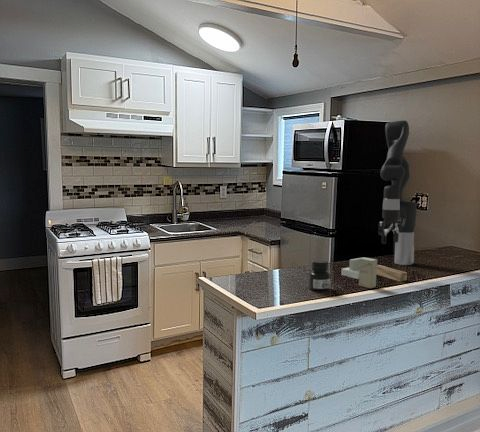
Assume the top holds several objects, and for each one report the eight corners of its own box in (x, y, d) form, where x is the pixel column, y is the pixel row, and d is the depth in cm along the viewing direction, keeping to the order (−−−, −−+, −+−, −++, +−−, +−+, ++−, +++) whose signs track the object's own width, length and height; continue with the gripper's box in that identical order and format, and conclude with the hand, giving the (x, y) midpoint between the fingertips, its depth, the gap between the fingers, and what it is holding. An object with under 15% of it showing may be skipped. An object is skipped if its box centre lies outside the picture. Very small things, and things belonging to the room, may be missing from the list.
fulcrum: (358, 271, 227) (358, 255, 226) (374, 275, 219) (375, 259, 218) (341, 274, 220) (341, 258, 219) (357, 279, 212) (357, 262, 211)
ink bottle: (315, 292, 190) (315, 264, 189) (304, 287, 198) (304, 260, 197) (334, 290, 194) (335, 262, 192) (323, 285, 202) (323, 258, 201)
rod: (378, 272, 226) (378, 264, 225) (406, 281, 210) (406, 272, 209) (372, 273, 224) (372, 265, 224) (400, 282, 208) (400, 273, 208)
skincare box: (358, 285, 200) (359, 258, 199) (364, 284, 203) (364, 257, 202) (371, 288, 196) (372, 260, 194) (376, 286, 199) (377, 259, 198)
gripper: (394, 207, 220) (392, 240, 222) (374, 208, 212) (373, 243, 214) (407, 208, 214) (406, 242, 216) (387, 209, 206) (386, 245, 208)
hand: (389, 242), depth 215 cm, fingers open, 8 cm apart
